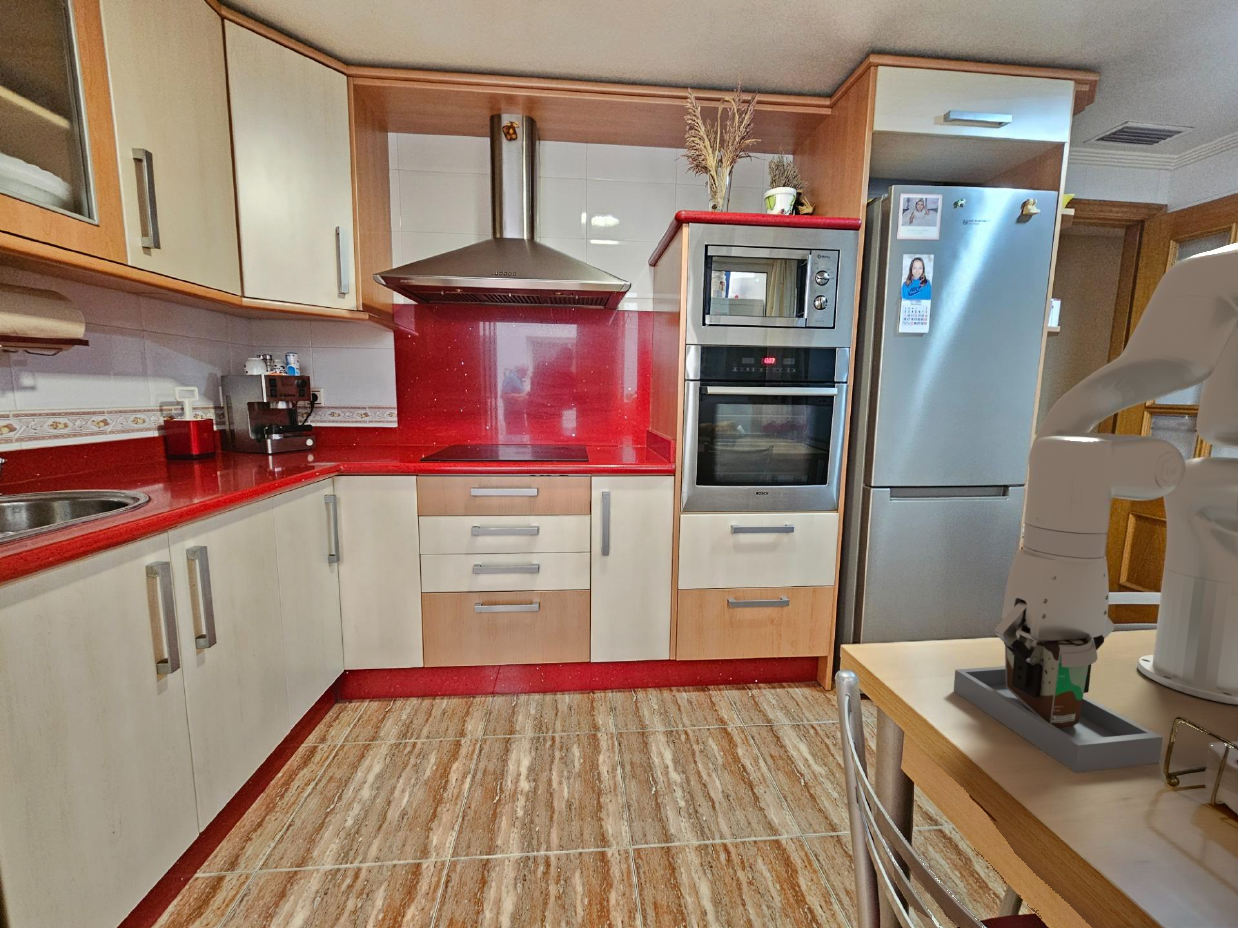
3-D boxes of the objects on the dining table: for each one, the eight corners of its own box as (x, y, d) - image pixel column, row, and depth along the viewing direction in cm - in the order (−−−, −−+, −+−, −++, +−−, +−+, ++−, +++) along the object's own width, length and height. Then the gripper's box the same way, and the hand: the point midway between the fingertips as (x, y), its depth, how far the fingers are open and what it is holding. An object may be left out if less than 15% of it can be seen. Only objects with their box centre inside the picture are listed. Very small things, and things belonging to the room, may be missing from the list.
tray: (1022, 685, 75) (1023, 664, 74) (1159, 762, 58) (1162, 736, 58) (953, 690, 73) (955, 669, 73) (1075, 772, 57) (1078, 745, 56)
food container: (1122, 740, 59) (1127, 651, 58) (1058, 736, 60) (1063, 649, 59) (1050, 684, 71) (1054, 610, 70) (999, 681, 72) (1002, 608, 71)
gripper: (1093, 532, 69) (1079, 669, 70) (972, 536, 66) (961, 679, 68) (1160, 548, 61) (1143, 700, 63) (1028, 553, 58) (1014, 712, 60)
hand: (1049, 687), depth 65 cm, fingers closed on food container, 5 cm apart
